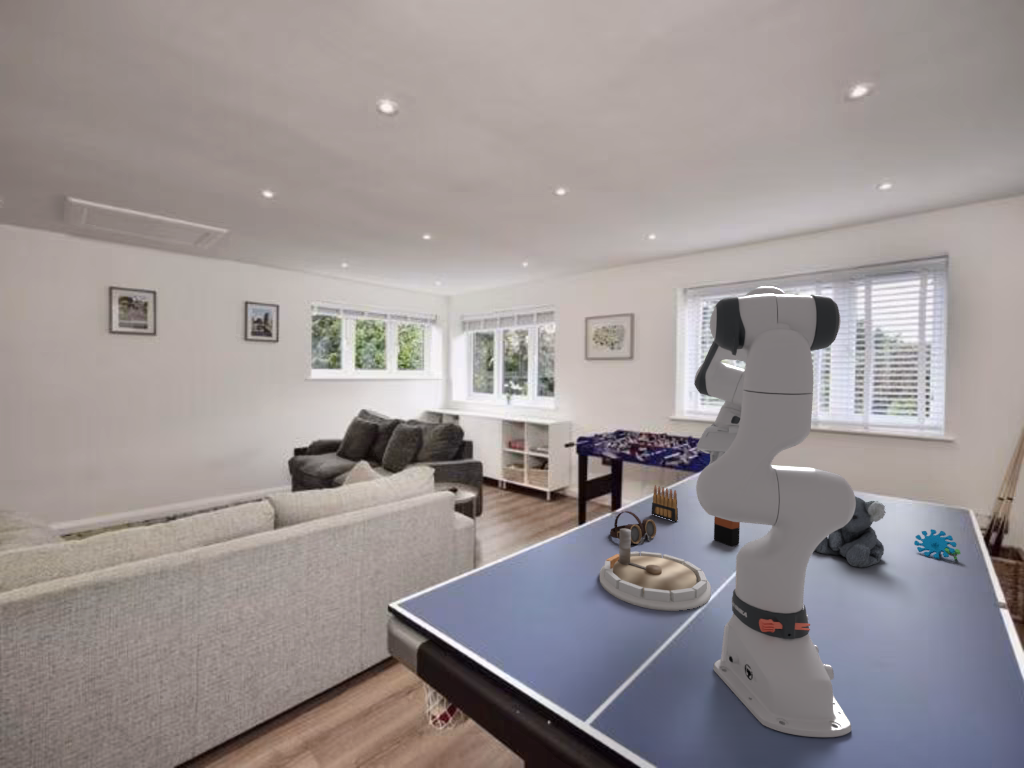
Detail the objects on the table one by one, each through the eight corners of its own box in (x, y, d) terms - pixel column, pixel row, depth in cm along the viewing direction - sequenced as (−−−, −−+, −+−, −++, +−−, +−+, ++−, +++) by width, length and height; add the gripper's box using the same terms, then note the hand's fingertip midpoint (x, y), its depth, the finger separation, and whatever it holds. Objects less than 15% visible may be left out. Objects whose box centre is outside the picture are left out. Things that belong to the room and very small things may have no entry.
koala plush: (804, 549, 151) (807, 489, 150) (843, 543, 157) (845, 485, 157) (861, 571, 135) (864, 503, 134) (901, 563, 141) (904, 498, 141)
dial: (708, 576, 125) (709, 537, 124) (676, 605, 109) (677, 560, 109) (635, 555, 139) (636, 520, 138) (598, 577, 123) (599, 538, 123)
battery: (731, 546, 152) (732, 516, 152) (713, 540, 158) (713, 510, 158) (739, 544, 154) (740, 514, 154) (721, 538, 160) (722, 508, 160)
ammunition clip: (651, 515, 184) (652, 484, 184) (654, 514, 186) (654, 484, 185) (675, 522, 176) (675, 490, 176) (678, 521, 177) (678, 490, 177)
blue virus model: (906, 546, 151) (924, 523, 152) (912, 556, 153) (929, 533, 154) (948, 563, 141) (967, 539, 142) (953, 574, 143) (971, 550, 144)
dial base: (729, 613, 109) (729, 597, 109) (607, 608, 111) (607, 592, 111) (690, 564, 137) (690, 551, 137) (593, 560, 139) (594, 548, 139)
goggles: (633, 547, 149) (628, 515, 151) (602, 545, 159) (597, 515, 160) (661, 537, 159) (655, 507, 160) (629, 535, 169) (625, 507, 170)
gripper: (702, 418, 142) (684, 459, 140) (746, 418, 122) (726, 466, 120) (719, 428, 143) (702, 469, 141) (766, 429, 123) (746, 477, 121)
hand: (713, 468), depth 131 cm, fingers closed
